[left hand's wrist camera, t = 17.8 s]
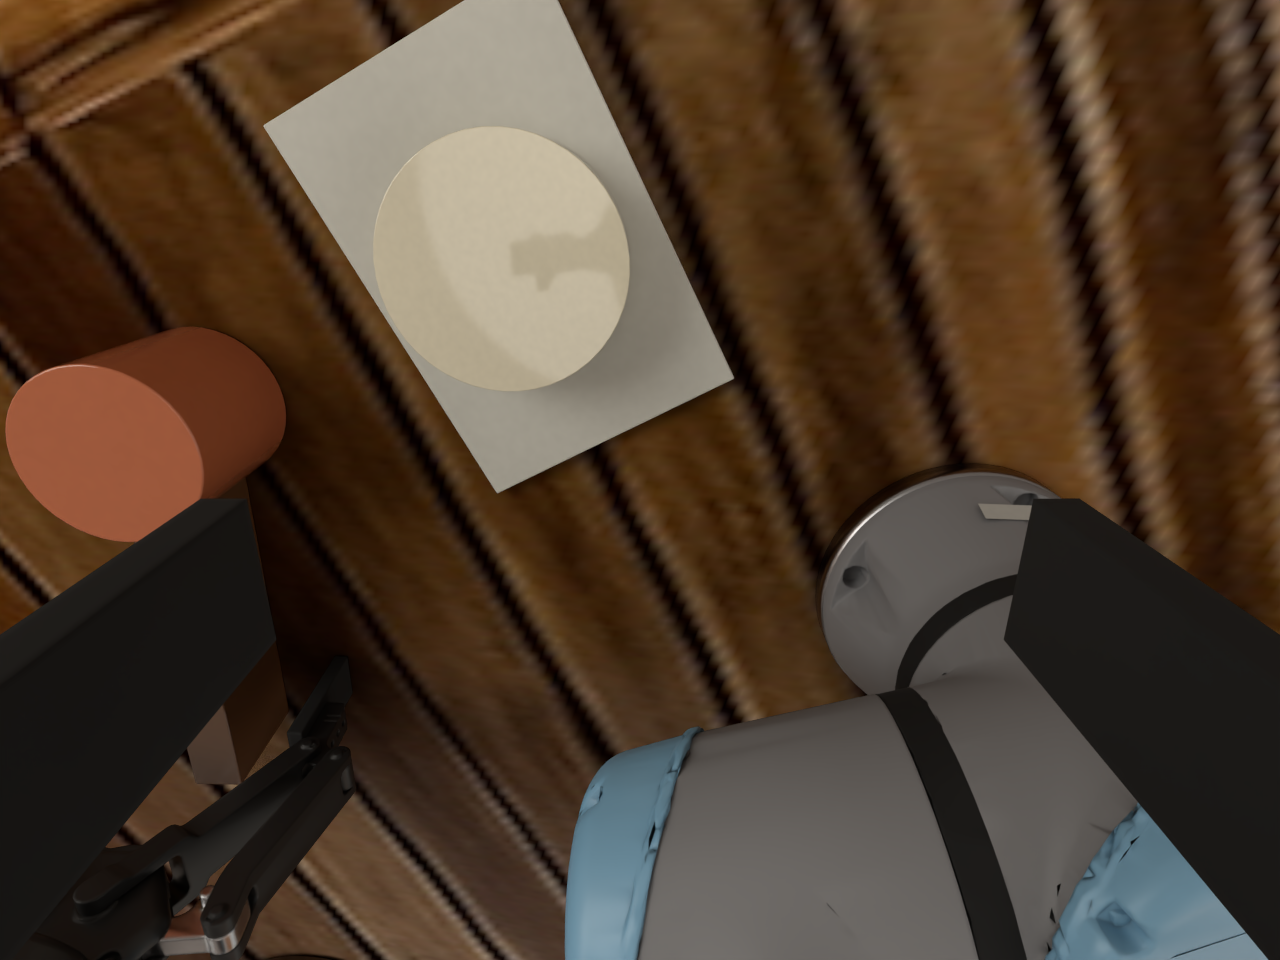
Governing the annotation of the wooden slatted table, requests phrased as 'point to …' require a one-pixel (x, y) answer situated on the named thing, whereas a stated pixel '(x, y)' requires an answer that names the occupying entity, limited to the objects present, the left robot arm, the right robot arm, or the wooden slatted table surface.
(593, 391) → the grey mat
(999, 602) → the left robot arm
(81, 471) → the orange handled cylinder
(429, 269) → the cap
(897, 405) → the wooden slatted table surface
